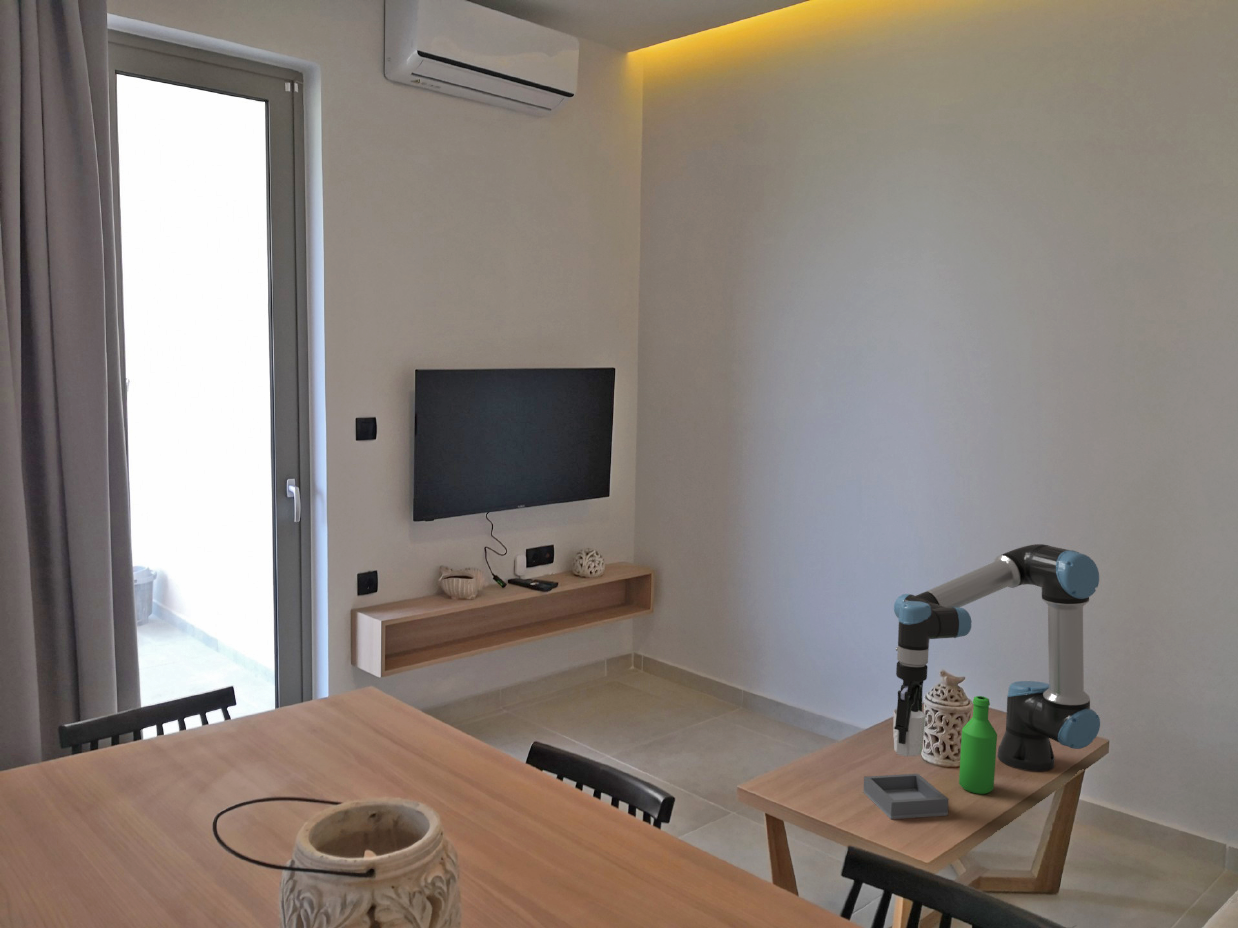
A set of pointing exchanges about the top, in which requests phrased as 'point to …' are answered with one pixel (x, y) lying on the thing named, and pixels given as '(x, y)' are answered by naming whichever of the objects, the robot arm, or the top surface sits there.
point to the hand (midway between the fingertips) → (907, 749)
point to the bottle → (978, 750)
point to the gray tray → (905, 796)
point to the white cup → (912, 732)
